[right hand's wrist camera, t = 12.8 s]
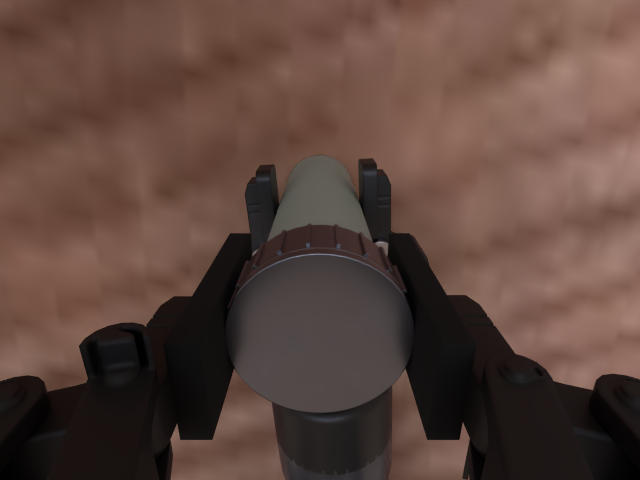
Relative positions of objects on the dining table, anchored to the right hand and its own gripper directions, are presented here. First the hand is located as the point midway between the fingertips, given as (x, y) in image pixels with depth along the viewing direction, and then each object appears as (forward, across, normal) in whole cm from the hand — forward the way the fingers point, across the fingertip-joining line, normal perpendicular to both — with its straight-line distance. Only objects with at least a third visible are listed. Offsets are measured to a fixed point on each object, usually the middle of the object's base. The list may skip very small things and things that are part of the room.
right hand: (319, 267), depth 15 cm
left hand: (+6, 0, -3) cm, 6 cm away
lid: (-4, 0, 0) cm, 4 cm away
